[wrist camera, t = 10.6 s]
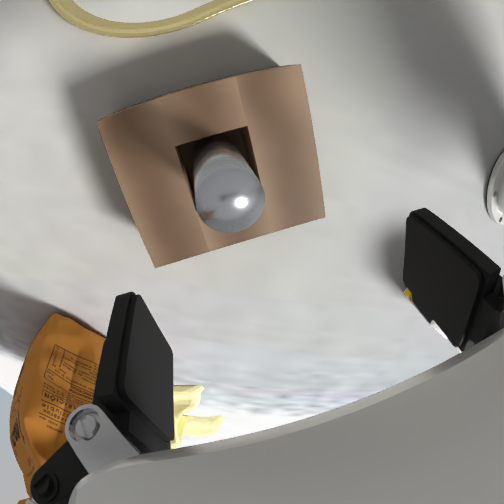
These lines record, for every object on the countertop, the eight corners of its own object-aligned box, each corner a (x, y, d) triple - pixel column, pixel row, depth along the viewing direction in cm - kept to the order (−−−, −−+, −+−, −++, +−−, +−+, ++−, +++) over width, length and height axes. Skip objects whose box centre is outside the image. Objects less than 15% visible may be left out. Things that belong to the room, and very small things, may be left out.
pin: (231, 128, 24) (257, 159, 15) (241, 169, 26) (271, 222, 17) (187, 141, 24) (186, 180, 15) (199, 182, 26) (207, 241, 17)
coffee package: (18, 348, 32) (-19, 499, 13) (55, 297, 29) (2, 492, 11) (78, 384, 37) (65, 531, 18) (125, 344, 34) (120, 528, 16)
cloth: (181, 365, 39) (184, 404, 34) (246, 417, 49) (254, 448, 44) (73, 408, 40) (69, 440, 35) (146, 450, 50) (147, 477, 45)
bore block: (279, 66, 23) (300, 64, 18) (304, 194, 29) (325, 217, 25) (112, 113, 22) (96, 121, 18) (158, 237, 28) (155, 268, 24)
